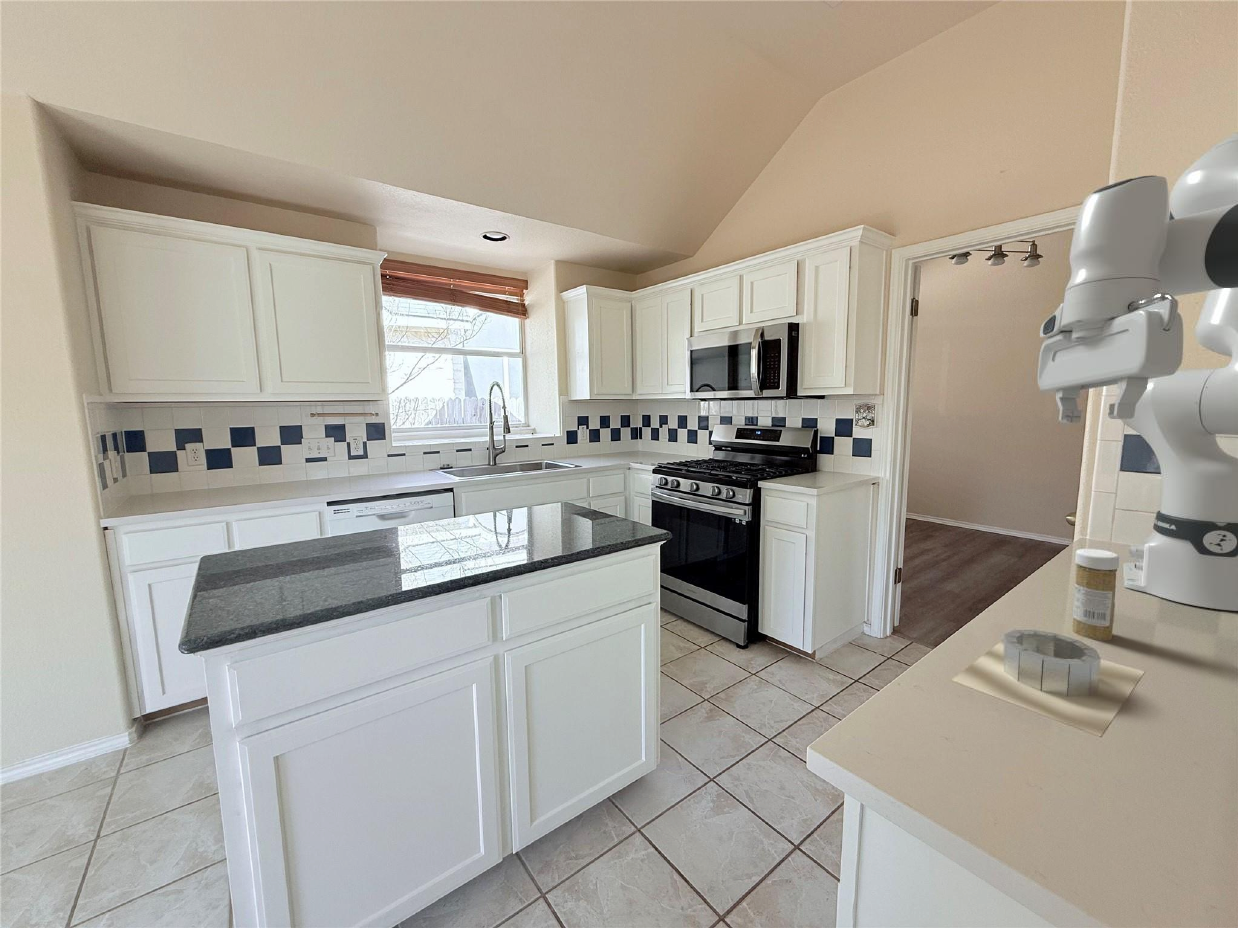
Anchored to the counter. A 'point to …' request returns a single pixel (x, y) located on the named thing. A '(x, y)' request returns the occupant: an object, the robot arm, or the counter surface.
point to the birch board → (1070, 710)
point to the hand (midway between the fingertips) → (1093, 421)
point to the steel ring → (1051, 662)
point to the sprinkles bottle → (1095, 593)
